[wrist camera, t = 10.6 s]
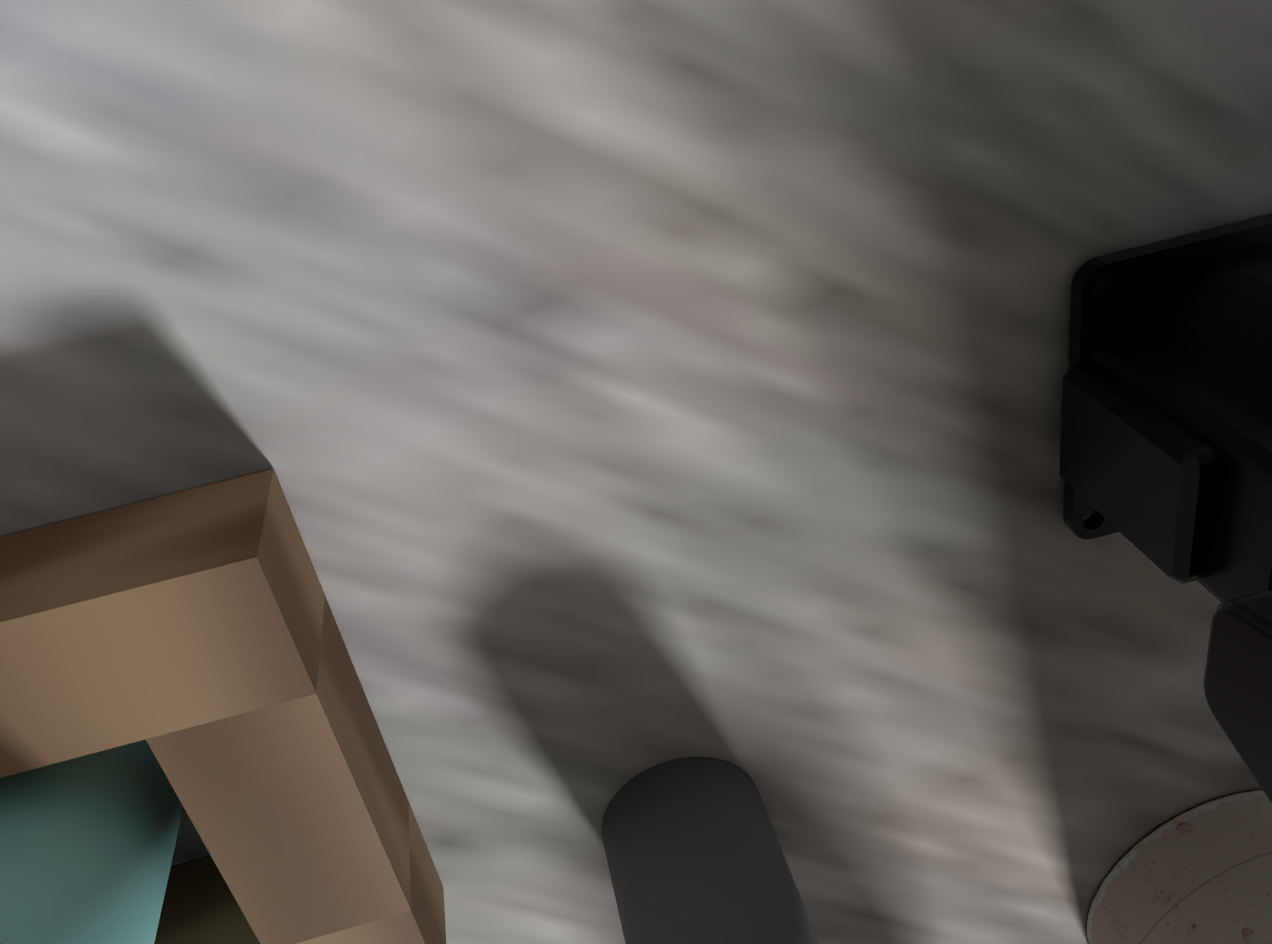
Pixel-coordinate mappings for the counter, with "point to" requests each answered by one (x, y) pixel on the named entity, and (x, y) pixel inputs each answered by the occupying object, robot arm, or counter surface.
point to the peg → (87, 849)
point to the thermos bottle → (1193, 880)
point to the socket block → (218, 712)
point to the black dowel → (699, 860)
